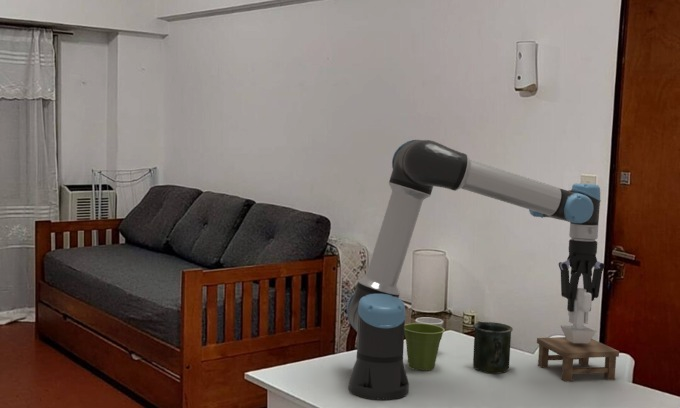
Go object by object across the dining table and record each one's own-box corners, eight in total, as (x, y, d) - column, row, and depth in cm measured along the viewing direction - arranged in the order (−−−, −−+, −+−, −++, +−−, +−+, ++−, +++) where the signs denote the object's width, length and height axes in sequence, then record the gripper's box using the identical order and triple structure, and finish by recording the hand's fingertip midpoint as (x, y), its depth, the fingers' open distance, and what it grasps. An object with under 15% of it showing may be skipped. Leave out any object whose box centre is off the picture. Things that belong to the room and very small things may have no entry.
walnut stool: (564, 382, 203) (566, 353, 203) (535, 365, 219) (537, 337, 218) (617, 380, 207) (619, 351, 206) (585, 363, 223) (586, 336, 222)
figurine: (581, 337, 217) (584, 285, 217) (597, 345, 208) (601, 291, 207) (557, 337, 216) (560, 285, 215) (573, 345, 207) (576, 290, 206)
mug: (505, 363, 220) (507, 322, 219) (517, 378, 205) (519, 335, 204) (468, 362, 220) (470, 321, 219) (477, 377, 205) (479, 333, 204)
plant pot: (433, 376, 205) (435, 335, 204) (393, 368, 210) (395, 328, 210) (449, 366, 215) (451, 326, 214) (411, 359, 221) (412, 320, 220)
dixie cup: (446, 352, 229) (447, 319, 229) (435, 358, 222) (436, 324, 221) (421, 347, 234) (422, 315, 233) (409, 353, 226) (410, 320, 226)
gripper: (564, 240, 205) (559, 326, 206) (616, 241, 208) (611, 325, 210) (550, 237, 212) (545, 320, 214) (601, 237, 216) (596, 319, 217)
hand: (578, 322), depth 212 cm, fingers closed on figurine, 3 cm apart
